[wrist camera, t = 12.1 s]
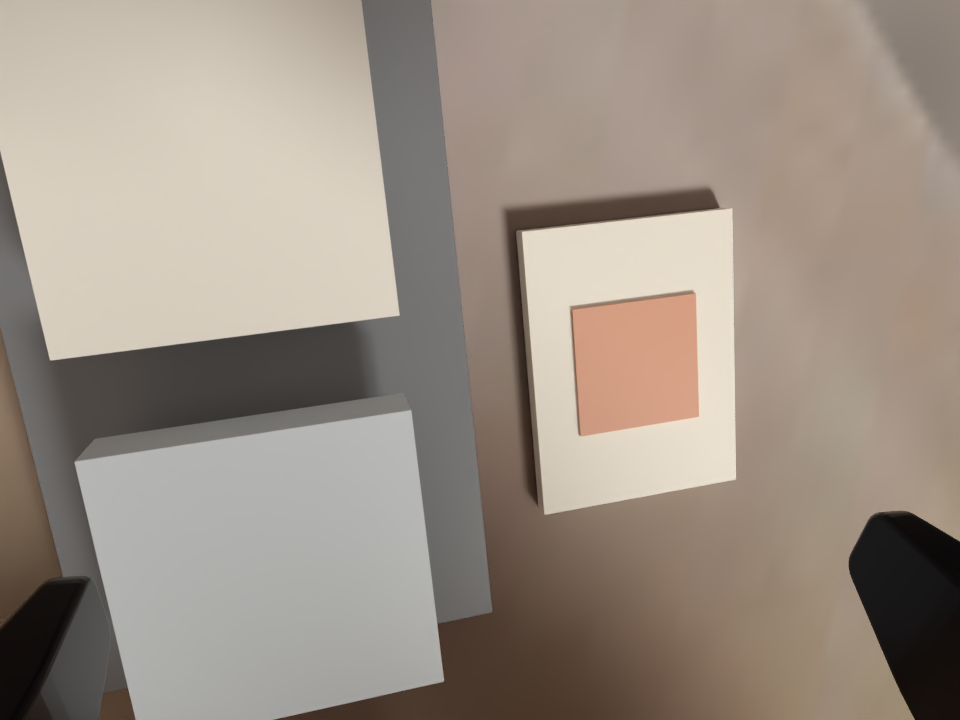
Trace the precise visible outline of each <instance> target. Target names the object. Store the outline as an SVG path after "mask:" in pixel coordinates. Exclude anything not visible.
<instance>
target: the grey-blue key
mask: <svg viewBox="0 0 960 720" xmlns="http://www.w3.org/2000/svg"><path fill="white" fill-rule="evenodd" d="M74 463H75V467H76V471H77V475H78V480H79V484H80V488H81V492H82V496H83V501H84V505H85V509H86V513H87V517H88V522H89V526H90V530H91V534H92V538H93V543H94V547H95V551H96V555H97V559H98V564H99V568H100V572H101V576H102V580H103V585H104V589H105V593H106V597H107V602H108V606H109V610H110V614H111V618H112V623H113V627H114V631H115V635H116V639H117V644H118V648H119V652H120V656H121V660H122V665H123V669H124V673H125V677H126V681H127V686H128V690H129V694H130V698H131V702H132V707H133V711H134V715H135V719H136V720H274V719H279V718H283V717H288V716H292V715H297V714H301V713H306V712H310V711H315V710H319V709H324V708H328V707H333V706H337V705H342V704H346V703H351V702H355V701H359V700H364V699H368V698H373V697H377V696H382V695H386V694H391V693H395V692H400V691H404V690H409V689H413V688H418V687H422V686H427V685H431V684H436V683H440V682H444V676H443V668H442V659H441V651H440V643H439V635H438V626H437V618H436V610H435V602H434V593H433V585H432V577H431V569H430V560H429V552H428V544H427V536H426V527H425V519H424V511H423V503H422V494H421V486H420V478H419V470H418V461H417V453H416V445H415V437H414V428H413V420H412V412H411V408H410V406H409V404H408V402H407V399H406V397H405V395H404V393H399V394H393V395H386V396H379V397H373V398H366V399H359V400H352V401H346V402H339V403H332V404H325V405H319V406H312V407H305V408H299V409H292V410H285V411H278V412H272V413H265V414H258V415H251V416H245V417H238V418H231V419H225V420H218V421H211V422H204V423H198V424H191V425H184V426H177V427H171V428H164V429H157V430H151V431H144V432H137V433H130V434H124V435H117V436H110V437H103V438H97V439H94V440H93V441H92V443H91V444H90V445H89V446H88V447H87V448H86V449H85V450H84V451H83V453H82V454H81V455H80V456H79V457H78V458H77V459H76V460H75V461H74Z"/></svg>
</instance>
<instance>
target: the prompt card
mask: <svg viewBox="0 0 960 720" xmlns="http://www.w3.org/2000/svg"><path fill="white" fill-rule="evenodd" d="M516 237H517V250H518V262H519V274H520V287H521V299H522V311H523V324H524V336H525V348H526V360H527V373H528V385H529V397H530V410H531V422H532V434H533V446H534V459H535V471H536V483H537V496H538V507H539V508H540V509H541V511H542V512H543V514H544V515H547V514H552V513H558V512H563V511H568V510H574V509H579V508H584V507H590V506H595V505H601V504H606V503H611V502H617V501H622V500H627V499H633V498H638V497H644V496H649V495H654V494H660V493H665V492H671V491H676V490H681V489H687V488H692V487H697V486H703V485H708V484H714V483H719V482H724V481H730V480H735V479H736V449H735V373H734V297H733V220H732V208H717V209H708V210H699V211H690V212H681V213H672V214H663V215H654V216H645V217H636V218H626V219H617V220H608V221H599V222H590V223H581V224H572V225H563V226H554V227H545V228H536V229H527V230H518V231H516Z"/></svg>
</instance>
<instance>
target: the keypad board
mask: <svg viewBox="0 0 960 720" xmlns="http://www.w3.org/2000/svg"><path fill="white" fill-rule="evenodd" d="M361 1H362V9H363V17H364V26H365V34H366V42H367V50H368V59H369V67H370V75H371V83H372V92H373V100H374V108H375V116H376V125H377V133H378V141H379V149H380V158H381V166H382V174H383V182H384V191H385V199H386V207H387V215H388V224H389V232H390V240H391V248H392V257H393V265H394V273H395V281H396V290H397V298H398V306H399V314H400V316H392V317H384V318H377V319H369V320H361V321H353V322H346V323H338V324H330V325H322V326H315V327H307V328H299V329H291V330H284V331H276V332H268V333H260V334H253V335H245V336H237V337H229V338H222V339H214V340H206V341H198V342H191V343H183V344H175V345H167V346H160V347H152V348H144V349H136V350H129V351H121V352H113V353H105V354H98V355H90V356H82V357H74V358H67V359H59V360H51V361H50V358H49V354H48V350H47V346H46V342H45V337H44V333H43V329H42V325H41V321H40V316H39V312H38V308H37V304H36V300H35V295H34V291H33V287H32V283H31V279H30V274H29V270H28V266H27V262H26V258H25V253H24V249H23V245H22V241H21V237H20V232H19V228H18V224H17V220H16V216H15V211H14V207H13V203H12V199H11V195H10V190H9V186H8V182H7V178H6V173H5V169H4V165H3V161H2V157H1V152H0V328H1V332H2V336H3V340H4V344H5V348H6V352H7V356H8V360H9V364H10V368H11V372H12V376H13V380H14V384H15V388H16V392H17V396H18V400H19V404H20V408H21V412H22V416H23V420H24V424H25V428H26V432H27V436H28V440H29V444H30V448H31V452H32V456H33V460H34V464H35V468H36V472H37V476H38V480H39V484H40V488H41V492H42V495H43V499H44V503H45V507H46V511H47V515H48V519H49V523H50V527H51V531H52V535H53V539H54V543H55V547H56V551H57V555H58V559H59V563H60V567H61V571H62V575H63V577H70V576H83V575H85V576H90V577H91V578H92V579H93V580H94V581H95V583H96V585H97V588H98V591H99V594H100V597H101V600H102V603H103V606H104V609H105V612H106V615H107V618H108V621H109V625H110V636H111V638H110V650H109V657H108V663H107V670H106V677H105V683H104V690H103V693H108V692H113V691H118V690H123V689H127V688H128V686H127V681H126V677H125V673H124V669H123V665H122V660H121V656H120V652H119V648H118V644H117V639H116V635H115V631H114V627H113V623H112V618H111V614H110V610H109V606H108V602H107V597H106V593H105V589H104V585H103V580H102V576H101V572H100V568H99V564H98V559H97V555H96V551H95V547H94V543H93V538H92V534H91V530H90V526H89V522H88V517H87V513H86V509H85V505H84V501H83V496H82V492H81V488H80V484H79V480H78V475H77V471H76V467H75V463H74V461H75V460H76V459H77V458H78V457H79V456H80V455H81V454H82V453H83V451H84V450H85V449H86V448H87V447H88V446H89V445H90V444H91V443H92V441H93V440H94V439H97V438H103V437H110V436H117V435H124V434H130V433H137V432H144V431H151V430H157V429H164V428H171V427H177V426H184V425H191V424H198V423H204V422H211V421H218V420H225V419H231V418H238V417H245V416H251V415H258V414H265V413H272V412H278V411H285V410H292V409H299V408H305V407H312V406H319V405H325V404H332V403H339V402H346V401H352V400H359V399H366V398H373V397H379V396H386V395H393V394H399V393H404V395H405V397H406V399H407V402H408V404H409V406H410V408H411V412H412V420H413V428H414V437H415V445H416V453H417V461H418V470H419V478H420V486H421V494H422V503H423V511H424V519H425V527H426V536H427V544H428V552H429V560H430V569H431V577H432V585H433V593H434V602H435V610H436V618H437V624H439V623H444V622H449V621H454V620H458V619H463V618H468V617H473V616H477V615H482V614H487V613H492V603H491V593H490V583H489V573H488V563H487V553H486V543H485V533H484V524H483V514H482V504H481V494H480V484H479V474H478V464H477V454H476V444H475V434H474V424H473V414H472V405H471V395H470V385H469V375H468V365H467V355H466V345H465V335H464V325H463V315H462V305H461V296H460V286H459V276H458V266H457V256H456V246H455V236H454V226H453V216H452V206H451V196H450V186H449V177H448V167H447V157H446V147H445V137H444V127H443V117H442V107H441V97H440V87H439V77H438V67H437V58H436V48H435V38H434V28H433V18H432V8H431V0H361Z"/></svg>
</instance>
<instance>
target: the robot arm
mask: <svg viewBox="0 0 960 720" xmlns="http://www.w3.org/2000/svg"><path fill="white" fill-rule="evenodd" d="M849 571H850V575H851V578H852V580H853V583H854V585H855V587H856V590H857V592H858V594H859V597H860V599H861V601H862V604H863V606H864V609H865V611H866V613H867V616H868V618H869V620H870V623H871V625H872V627H873V630H874V632H875V634H876V637H877V639H878V641H879V644H880V646H881V649H882V651H883V653H884V656H885V658H886V660H887V663H888V665H889V667H890V670H891V672H892V674H893V676H894V679H895V681H896V683H897V685H898V687H899V690H900V692H901V694H902V696H903V698H904V700H905V702H906V704H907V706H908V708H909V709H910V711H911V713H912V715H913V717H914V719H915V720H960V541H958V540H956V539H955V538H953V537H951V536H950V535H948V534H946V533H945V532H943V531H941V530H940V529H938V528H936V527H934V526H933V525H931V524H929V523H928V522H926V521H924V520H923V519H921V518H919V517H918V516H916V515H914V514H912V513H910V512H907V511H890V512H879V513H875V514H874V515H872V516H871V517H870V518H869V520H868V521H867V523H866V525H865V527H864V529H863V531H862V533H861V535H860V537H859V539H858V541H857V542H856V544H855V546H854V548H853V550H852V552H851V554H850V557H849ZM110 638H111V636H110V625H109V621H108V618H107V615H106V612H105V609H104V606H103V603H102V600H101V597H100V594H99V591H98V588H97V585H96V583H95V581H94V580H93V579H92V578H91V577H90V576H85V575H83V576H70V577H58V578H52V579H49V580H47V581H46V582H44V583H43V584H42V585H41V586H39V587H38V588H37V590H36V591H35V592H34V593H33V594H32V595H31V596H30V597H29V598H28V599H27V600H26V601H25V602H24V603H23V604H22V605H21V606H20V607H19V608H18V609H17V610H16V611H15V613H14V614H13V615H12V616H11V617H10V618H9V619H8V620H7V621H6V622H5V623H4V624H3V625H2V626H1V627H0V720H99V717H100V710H101V703H102V697H103V690H104V683H105V677H106V670H107V663H108V657H109V650H110Z"/></svg>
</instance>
